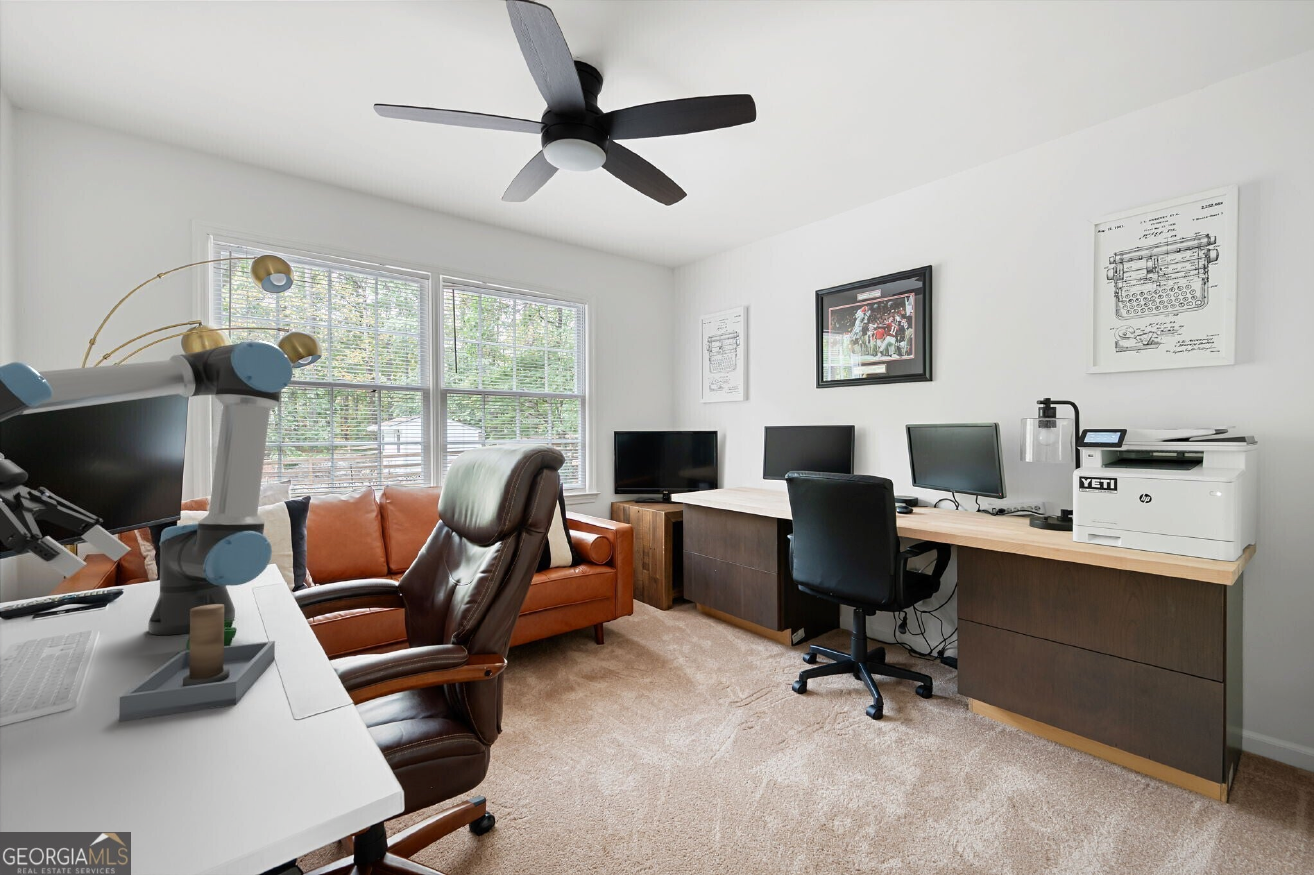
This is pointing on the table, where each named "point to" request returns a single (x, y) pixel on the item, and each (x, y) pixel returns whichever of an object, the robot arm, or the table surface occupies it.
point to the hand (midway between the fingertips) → (102, 562)
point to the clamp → (228, 633)
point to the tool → (206, 646)
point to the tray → (170, 696)
